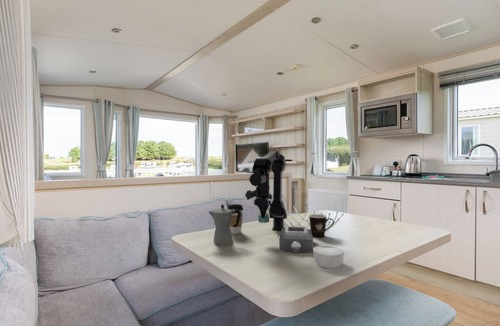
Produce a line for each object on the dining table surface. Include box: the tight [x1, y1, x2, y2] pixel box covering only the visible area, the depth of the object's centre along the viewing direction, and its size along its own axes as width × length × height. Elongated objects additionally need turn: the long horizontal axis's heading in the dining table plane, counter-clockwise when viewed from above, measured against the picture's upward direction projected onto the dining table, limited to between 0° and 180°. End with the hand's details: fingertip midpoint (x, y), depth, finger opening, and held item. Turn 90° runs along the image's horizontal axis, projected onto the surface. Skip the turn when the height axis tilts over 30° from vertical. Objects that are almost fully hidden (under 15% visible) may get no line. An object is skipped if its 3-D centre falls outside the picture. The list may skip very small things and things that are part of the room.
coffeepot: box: [208, 204, 241, 246], centre depth 128 cm, size 15×9×18 cm, turn 92°
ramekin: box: [312, 244, 345, 269], centre depth 101 cm, size 11×11×5 cm
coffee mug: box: [308, 213, 335, 239], centre depth 135 cm, size 12×9×10 cm
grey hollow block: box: [278, 225, 314, 253], centre depth 121 cm, size 18×14×7 cm
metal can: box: [257, 205, 270, 224], centre depth 127 cm, size 5×5×8 cm
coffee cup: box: [227, 203, 244, 235], centre depth 144 cm, size 8×8×15 cm
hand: (263, 217), depth 127 cm, fingers closed on metal can, 5 cm apart
